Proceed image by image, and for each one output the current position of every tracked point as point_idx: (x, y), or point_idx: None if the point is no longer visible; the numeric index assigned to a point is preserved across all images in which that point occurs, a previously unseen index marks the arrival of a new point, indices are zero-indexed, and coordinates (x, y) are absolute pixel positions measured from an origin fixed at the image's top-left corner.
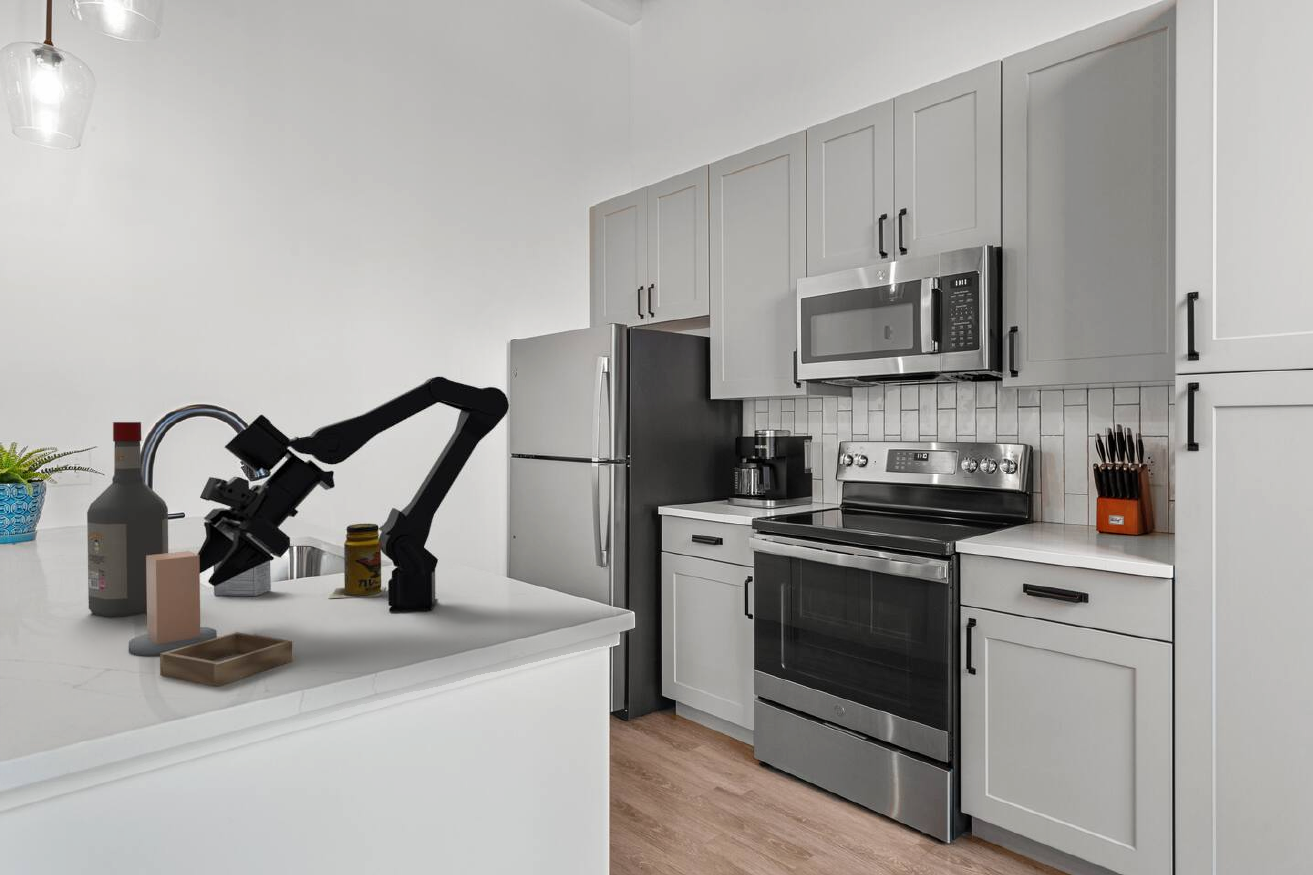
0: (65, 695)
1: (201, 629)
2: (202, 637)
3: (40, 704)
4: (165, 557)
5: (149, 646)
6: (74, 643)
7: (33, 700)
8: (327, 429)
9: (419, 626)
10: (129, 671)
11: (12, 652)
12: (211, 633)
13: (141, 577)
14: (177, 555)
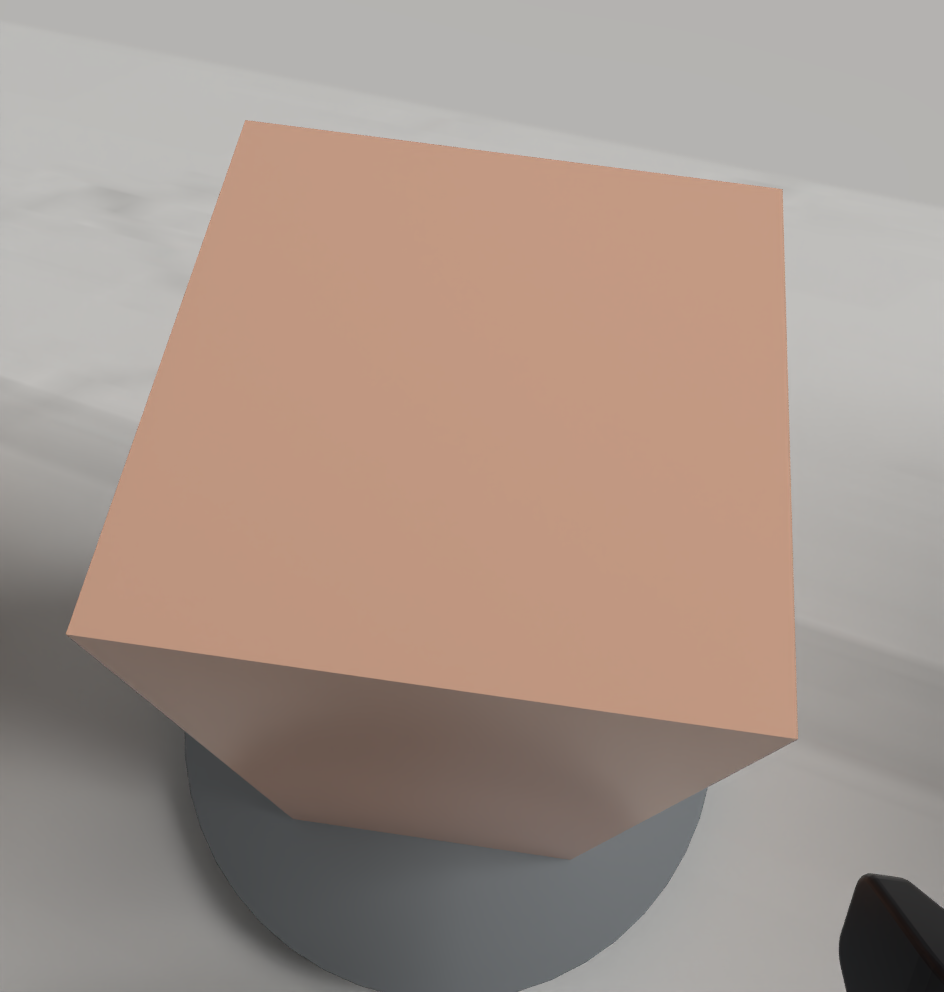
0: (33, 148)
1: (497, 920)
2: (255, 817)
3: (13, 84)
4: (367, 256)
5: None
6: (921, 397)
7: (87, 84)
8: None
9: None
10: (119, 375)
11: (931, 208)
12: (307, 915)
13: None
14: (405, 415)
